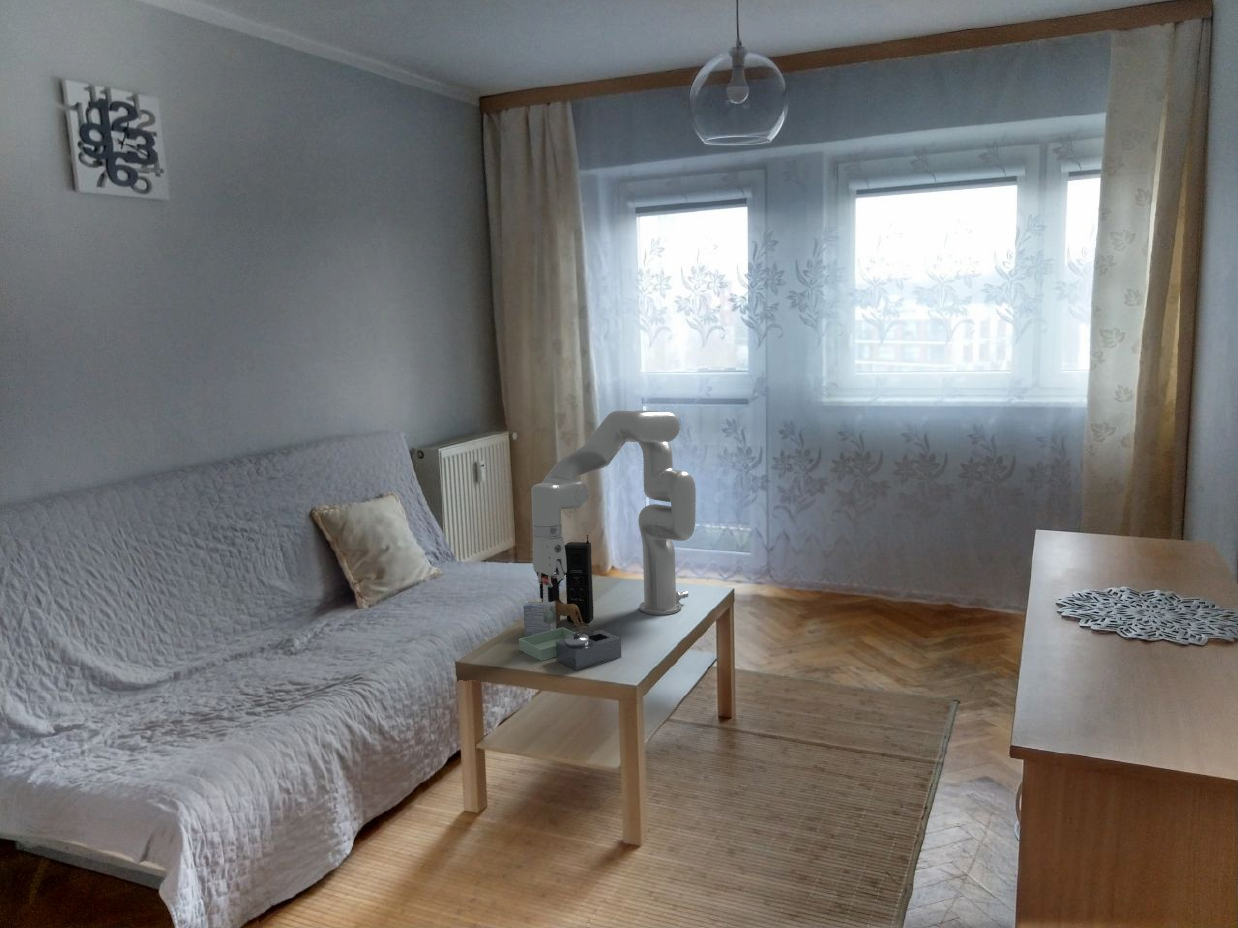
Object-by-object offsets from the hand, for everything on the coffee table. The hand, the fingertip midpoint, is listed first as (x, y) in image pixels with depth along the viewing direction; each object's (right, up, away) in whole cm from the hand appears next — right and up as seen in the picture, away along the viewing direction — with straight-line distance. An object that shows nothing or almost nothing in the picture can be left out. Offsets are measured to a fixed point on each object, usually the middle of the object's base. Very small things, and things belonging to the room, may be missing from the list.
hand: (549, 598), depth 239 cm
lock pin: (0, -6, +1) cm, 6 cm away
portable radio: (+7, -10, +26) cm, 28 cm away
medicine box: (-4, -12, +15) cm, 19 cm away
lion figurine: (+2, -11, +21) cm, 24 cm away
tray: (+1, -14, +2) cm, 14 cm away
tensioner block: (+11, -15, -6) cm, 19 cm away
